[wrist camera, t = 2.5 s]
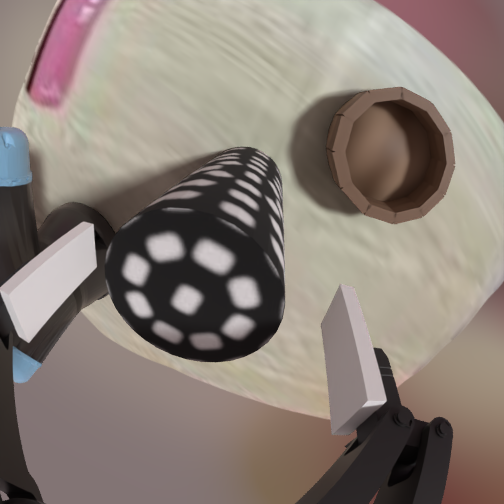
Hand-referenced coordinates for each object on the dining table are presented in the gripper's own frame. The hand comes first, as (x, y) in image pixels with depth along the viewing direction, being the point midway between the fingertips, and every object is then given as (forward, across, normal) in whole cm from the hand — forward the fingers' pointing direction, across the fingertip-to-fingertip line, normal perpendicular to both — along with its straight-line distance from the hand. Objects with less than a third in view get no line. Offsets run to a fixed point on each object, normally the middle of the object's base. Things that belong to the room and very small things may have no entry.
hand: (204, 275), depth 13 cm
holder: (+18, +14, +8) cm, 24 cm away
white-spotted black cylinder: (+18, 0, 0) cm, 18 cm away
